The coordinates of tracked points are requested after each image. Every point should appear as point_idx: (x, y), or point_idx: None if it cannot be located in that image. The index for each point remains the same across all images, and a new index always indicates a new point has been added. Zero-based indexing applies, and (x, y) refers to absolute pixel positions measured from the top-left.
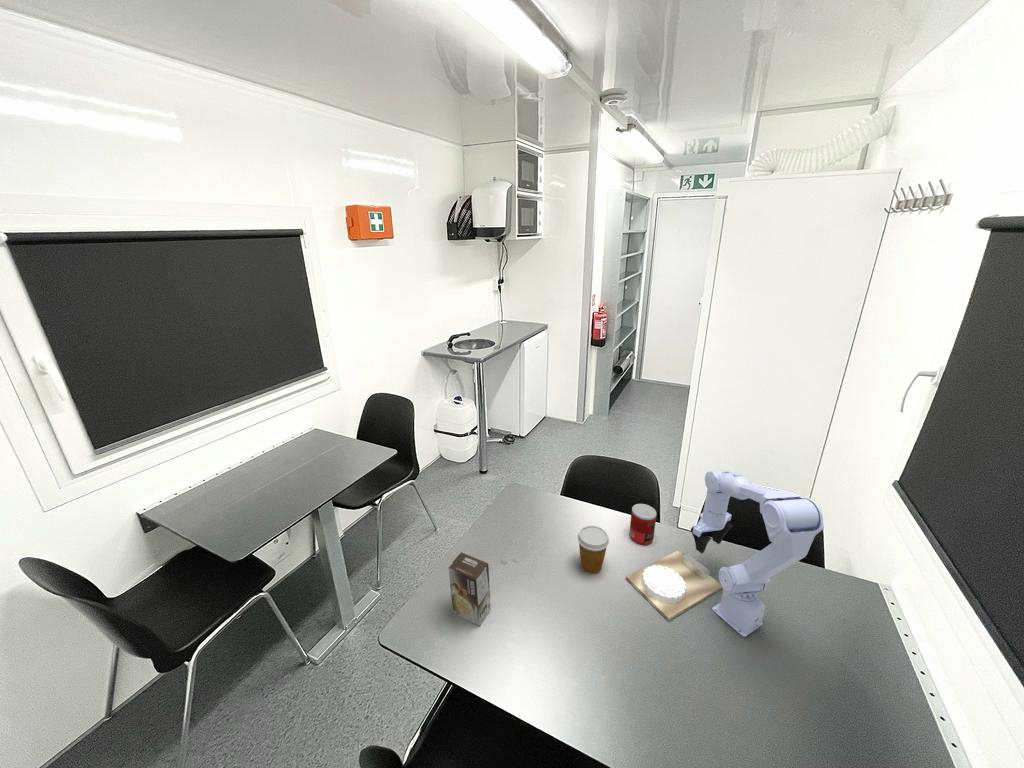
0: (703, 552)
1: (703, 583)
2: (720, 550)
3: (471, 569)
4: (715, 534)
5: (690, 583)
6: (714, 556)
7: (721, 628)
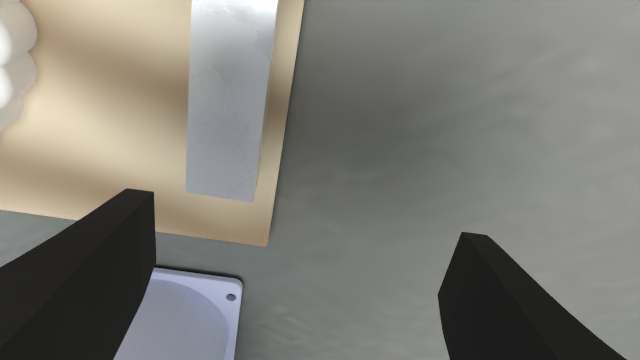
0: (152, 266)
1: (178, 172)
2: (635, 77)
3: None
4: (491, 328)
5: (93, 121)
6: (530, 79)
7: None
